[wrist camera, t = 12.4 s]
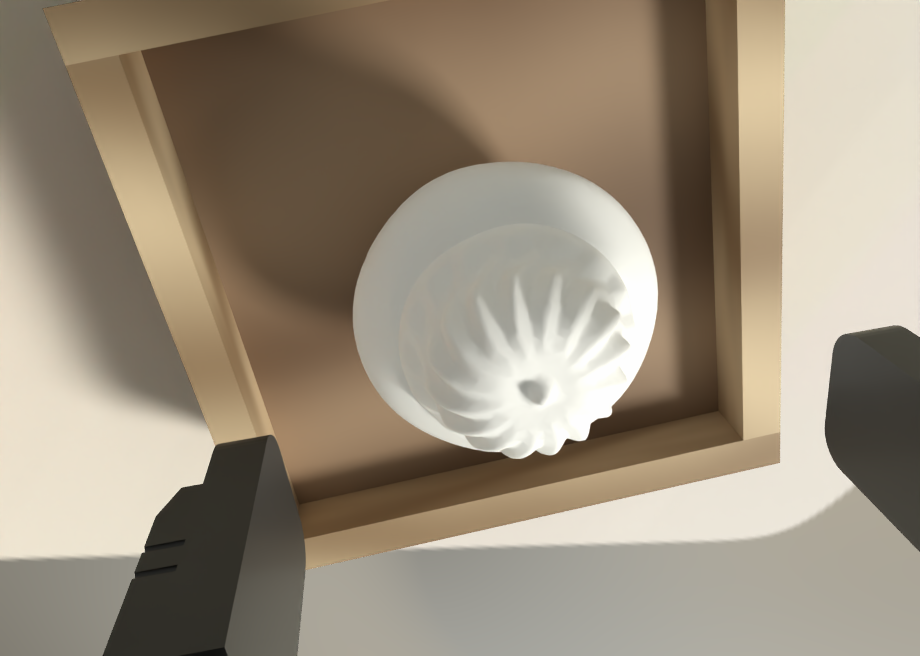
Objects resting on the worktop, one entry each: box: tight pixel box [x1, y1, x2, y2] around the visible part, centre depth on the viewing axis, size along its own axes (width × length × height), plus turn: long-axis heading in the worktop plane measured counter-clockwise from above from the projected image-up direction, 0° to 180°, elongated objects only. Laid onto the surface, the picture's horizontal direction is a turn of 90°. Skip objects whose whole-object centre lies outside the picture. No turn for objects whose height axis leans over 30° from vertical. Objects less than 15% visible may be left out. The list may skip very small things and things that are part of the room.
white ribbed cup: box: [353, 162, 658, 459], centre depth 15 cm, size 6×6×7 cm
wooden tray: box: [43, 0, 785, 570], centre depth 19 cm, size 14×14×6 cm
